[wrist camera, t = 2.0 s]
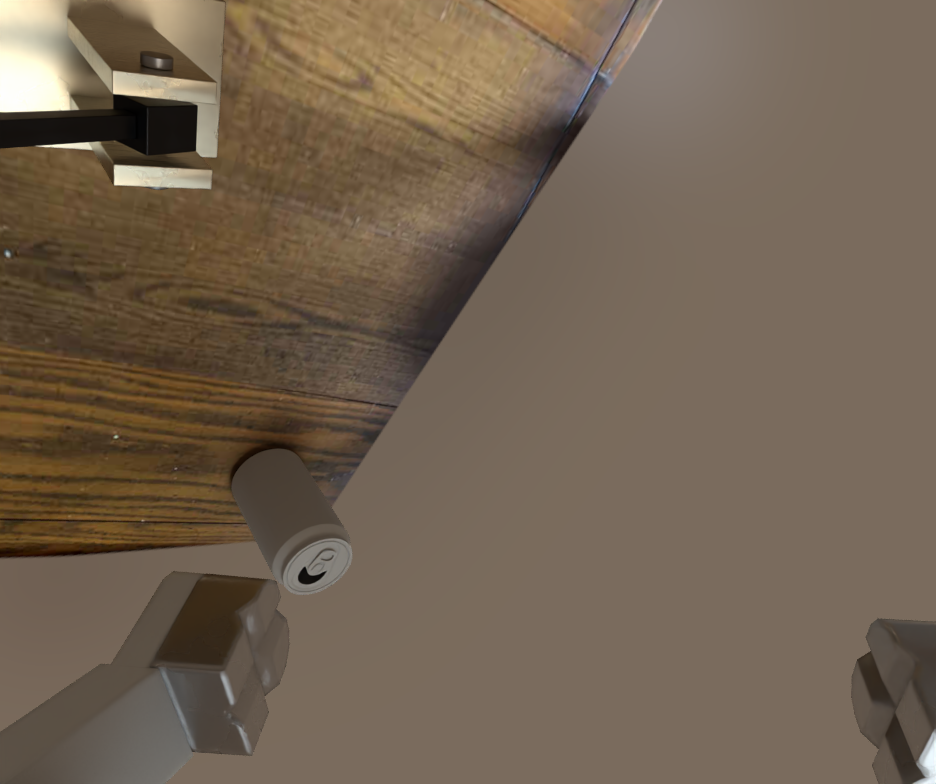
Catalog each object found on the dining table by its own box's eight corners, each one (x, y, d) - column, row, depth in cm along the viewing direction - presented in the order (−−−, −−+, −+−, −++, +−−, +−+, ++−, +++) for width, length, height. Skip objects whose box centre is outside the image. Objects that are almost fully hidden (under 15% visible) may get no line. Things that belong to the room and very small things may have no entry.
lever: (-153, 171, 27) (-100, 205, 26) (-173, 67, 26) (-118, 98, 24) (155, 147, 38) (204, 170, 36) (156, 71, 36) (208, 93, 35)
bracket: (-9, 137, 41) (19, 226, 33) (-26, -47, 37) (2, 1, 28) (211, 152, 48) (282, 229, 39) (219, -3, 44) (302, 47, 35)
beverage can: (213, 492, 63) (261, 594, 55) (257, 434, 62) (312, 528, 54) (273, 509, 68) (325, 604, 60) (314, 454, 67) (372, 544, 59)
